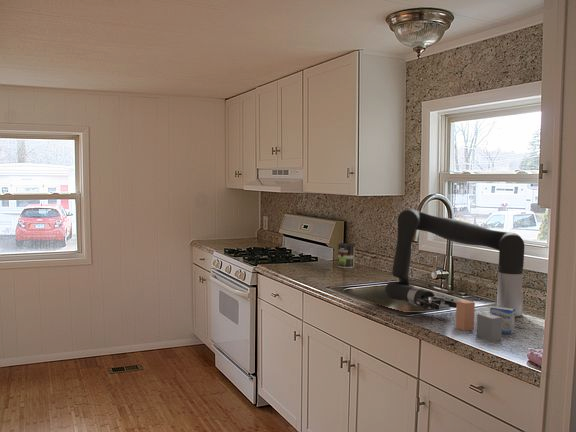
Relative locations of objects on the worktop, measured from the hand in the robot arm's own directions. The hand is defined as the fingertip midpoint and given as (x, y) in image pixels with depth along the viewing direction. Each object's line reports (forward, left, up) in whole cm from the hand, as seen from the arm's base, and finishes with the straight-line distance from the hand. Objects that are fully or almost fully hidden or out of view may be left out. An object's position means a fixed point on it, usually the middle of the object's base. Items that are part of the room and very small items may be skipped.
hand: (447, 306), depth 212 cm
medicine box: (-10, +18, -6) cm, 21 cm away
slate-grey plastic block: (+1, +23, -6) cm, 24 cm away
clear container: (-29, -126, -6) cm, 130 cm away
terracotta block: (0, +10, -6) cm, 12 cm away
